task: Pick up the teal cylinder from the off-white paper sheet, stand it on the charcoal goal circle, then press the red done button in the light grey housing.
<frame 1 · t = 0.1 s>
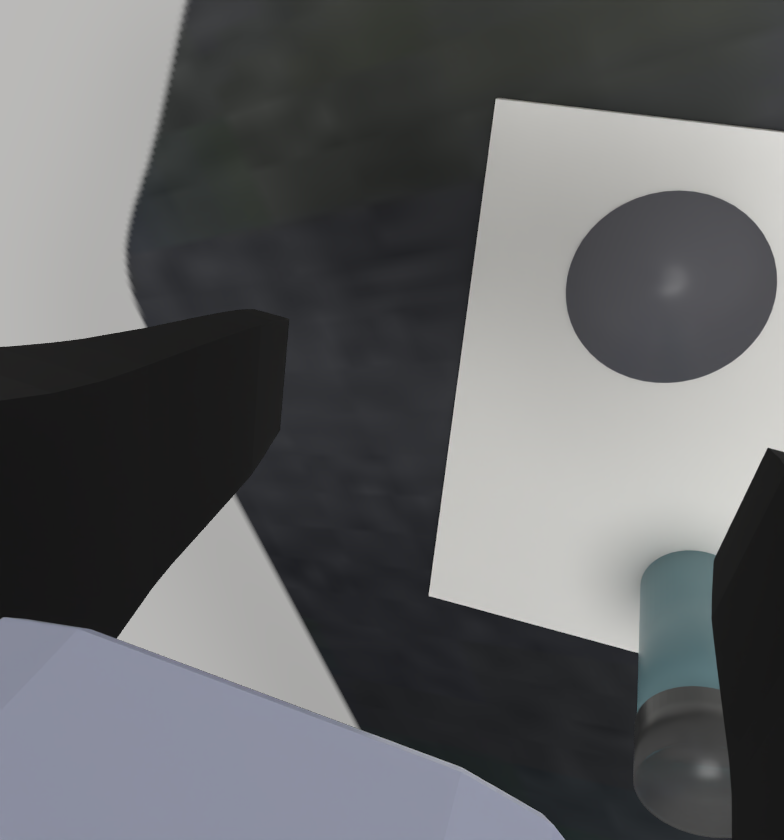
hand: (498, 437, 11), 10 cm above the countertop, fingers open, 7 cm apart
paper: (666, 430, 21), on the countertop
teal cylinder: (692, 590, 23), resting on paper
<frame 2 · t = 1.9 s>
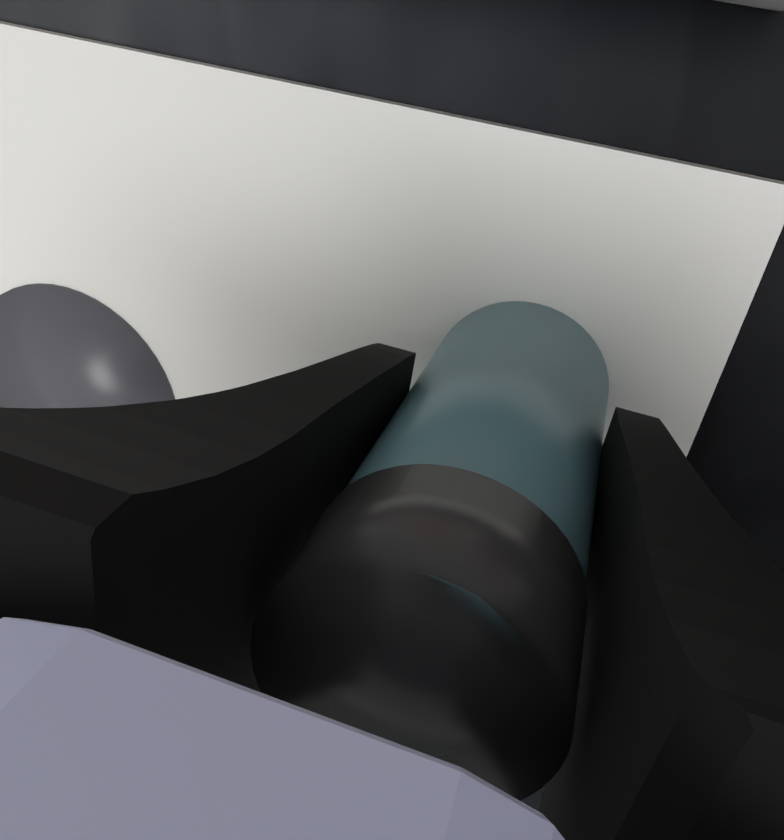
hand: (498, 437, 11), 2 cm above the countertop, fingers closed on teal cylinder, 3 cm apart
paper: (254, 400, 15), on the countertop
teal cylinder: (518, 385, 13), resting on paper, touching gripper
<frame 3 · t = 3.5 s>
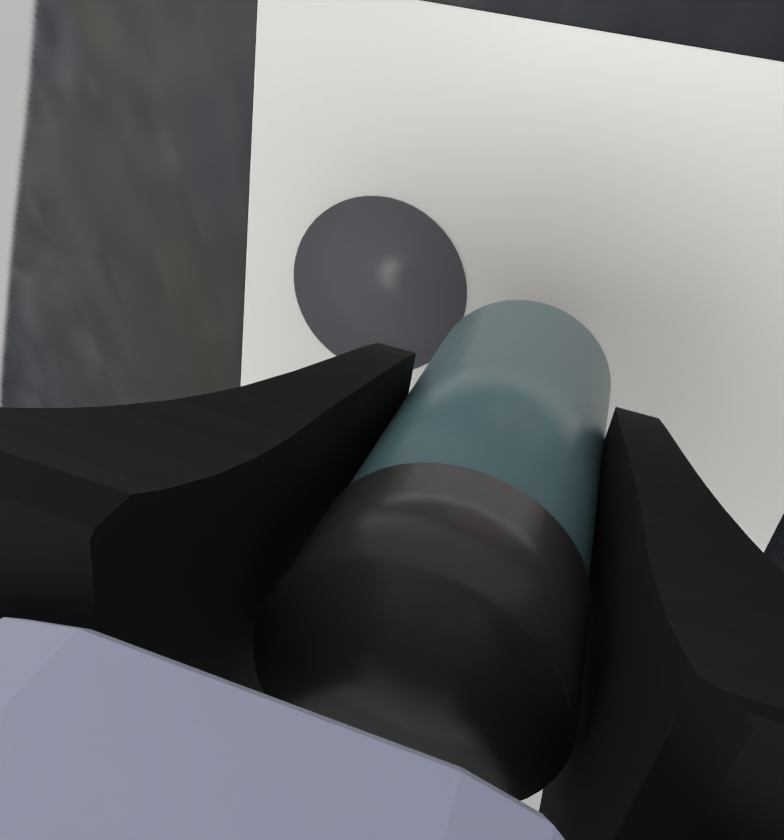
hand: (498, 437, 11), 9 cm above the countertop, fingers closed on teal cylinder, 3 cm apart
paper: (530, 285, 20), on the countertop
teal cylinder: (519, 384, 13), point 7 cm above the countertop, touching gripper
when the fingers open (3 cm above the countertop, at t = 5.3 s): teal cylinder stays where it is, resting on paper.
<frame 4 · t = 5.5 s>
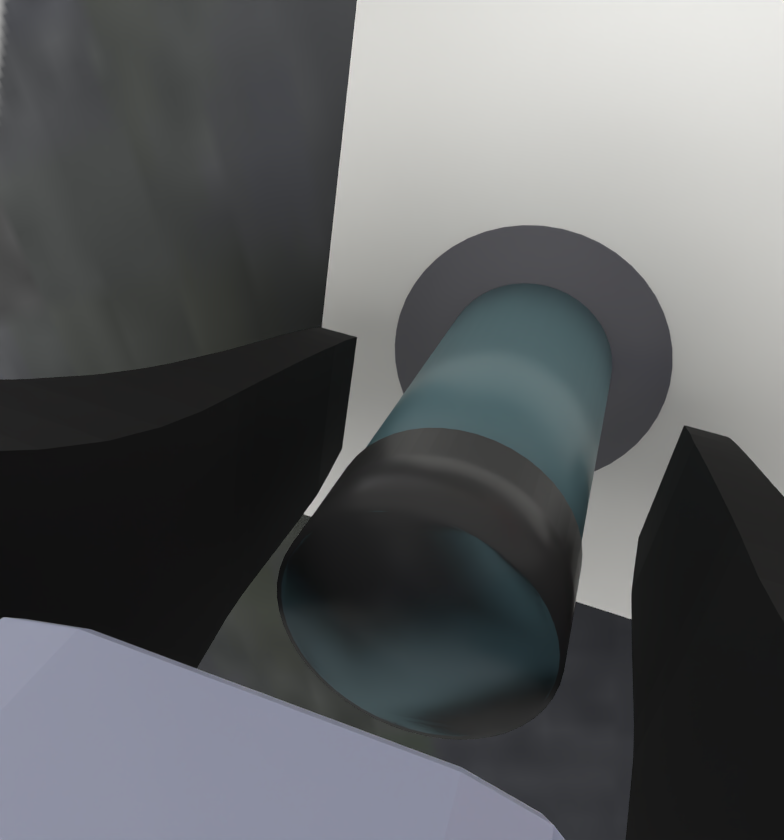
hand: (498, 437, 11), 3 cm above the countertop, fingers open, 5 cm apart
paper: (773, 364, 13), on the countertop
teal cylinder: (526, 363, 14), resting on paper
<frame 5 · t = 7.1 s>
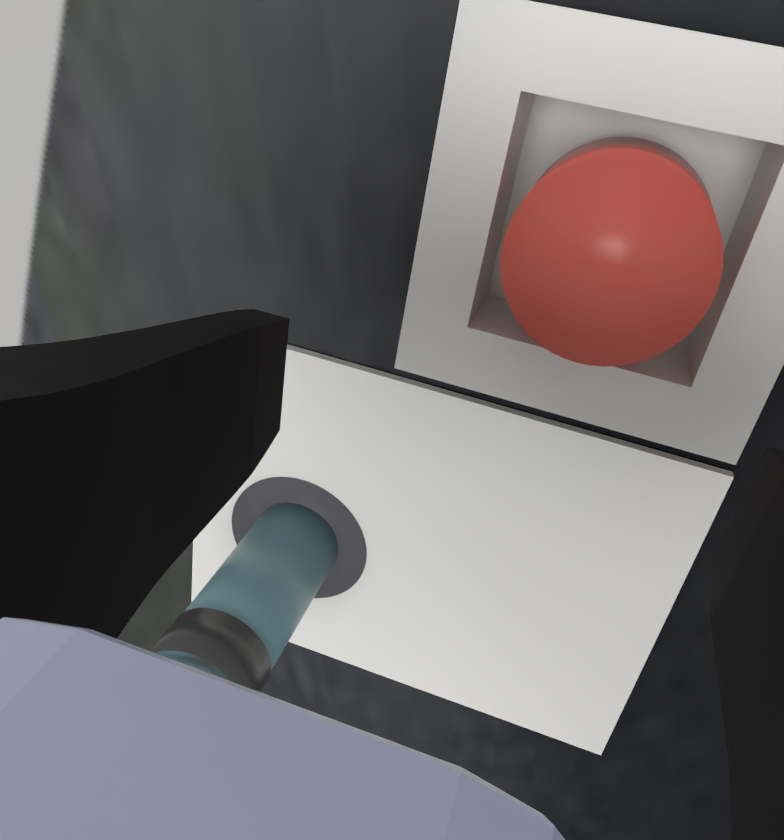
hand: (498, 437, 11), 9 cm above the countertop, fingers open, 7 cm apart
paper: (415, 548, 25), on the countertop
done button: (609, 250, 15), point 4 cm above the countertop, slide at 0.0 cm
button housing: (617, 210, 18), on the countertop
teal cylinder: (297, 539, 26), resting on paper
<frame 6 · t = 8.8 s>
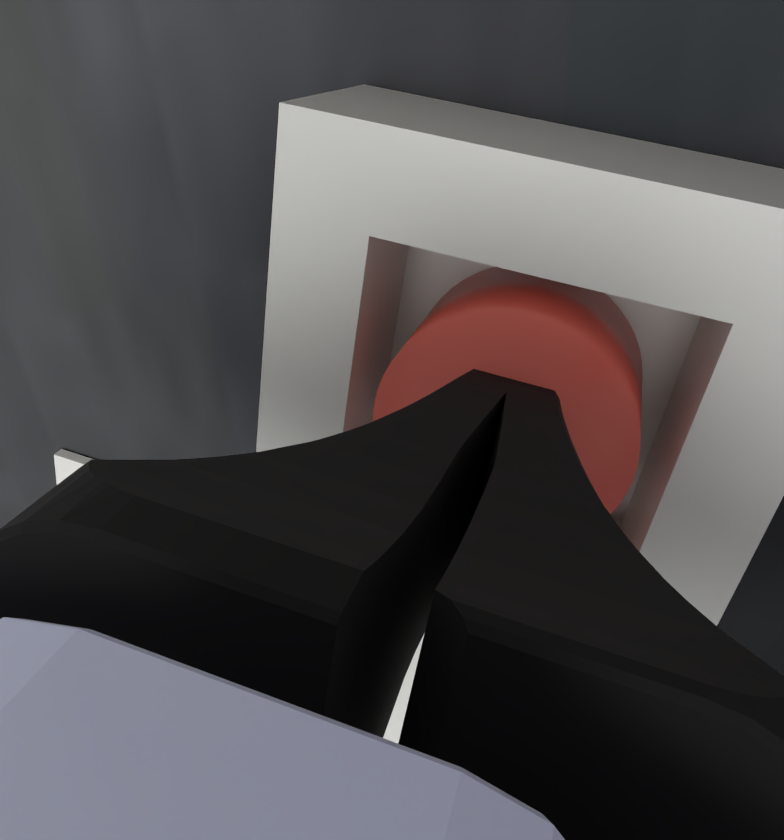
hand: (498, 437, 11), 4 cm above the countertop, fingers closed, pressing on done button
paper: (324, 707, 21), on the countertop
done button: (512, 404, 12), point 2 cm above the countertop, slide at 1.3 cm, touching gripper
button housing: (533, 349, 14), on the countertop
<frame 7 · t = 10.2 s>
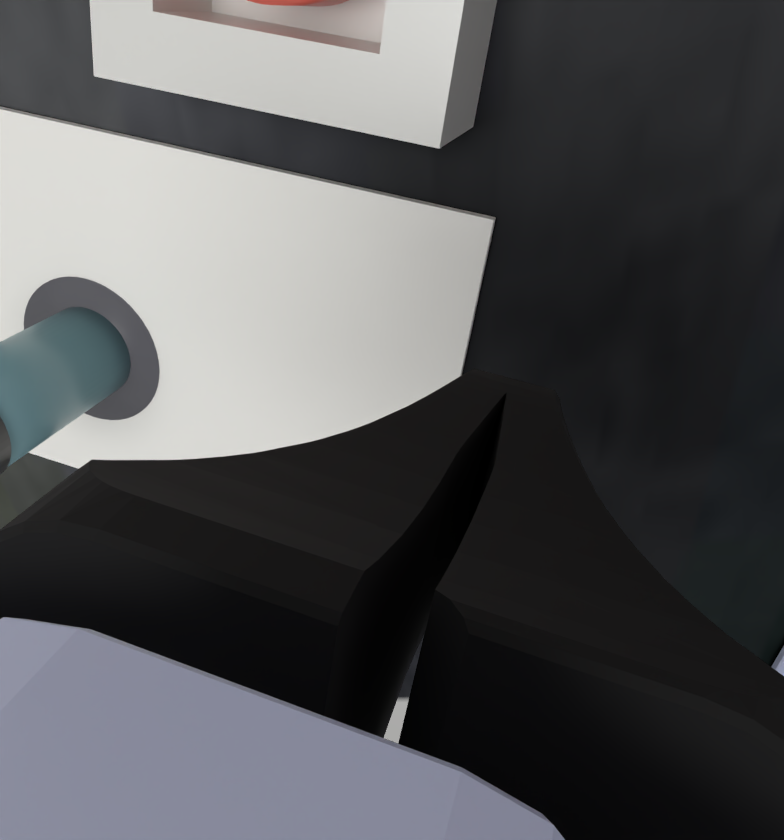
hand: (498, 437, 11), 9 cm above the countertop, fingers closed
paper: (207, 350, 23), on the countertop
teal cylinder: (89, 350, 24), resting on paper
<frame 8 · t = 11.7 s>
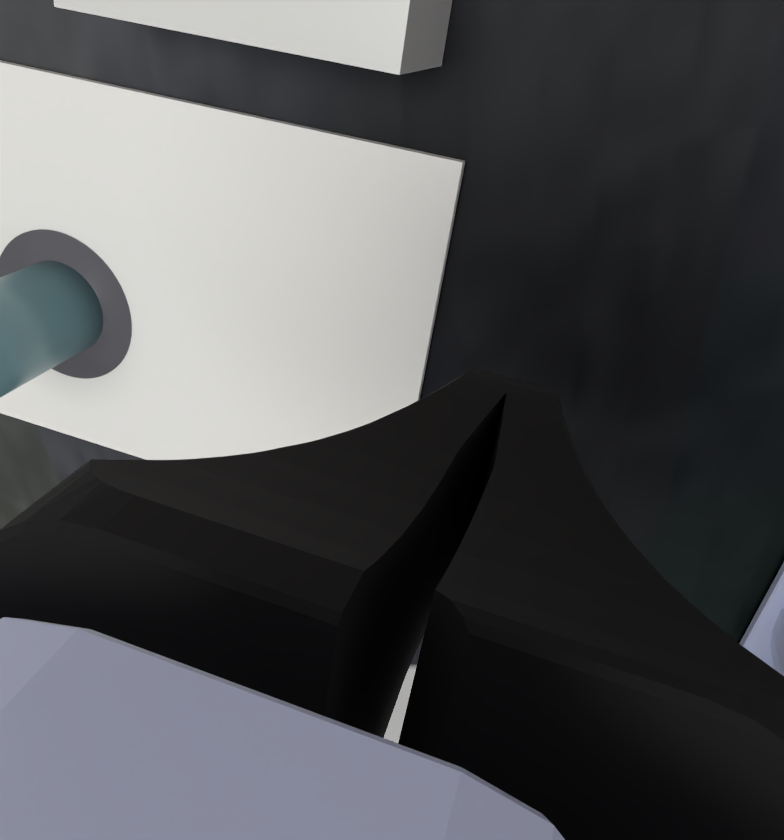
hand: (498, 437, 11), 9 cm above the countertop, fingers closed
paper: (179, 305, 23), on the countertop
teal cylinder: (62, 306, 24), resting on paper
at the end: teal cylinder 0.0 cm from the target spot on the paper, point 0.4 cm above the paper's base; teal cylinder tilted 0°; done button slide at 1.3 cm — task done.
